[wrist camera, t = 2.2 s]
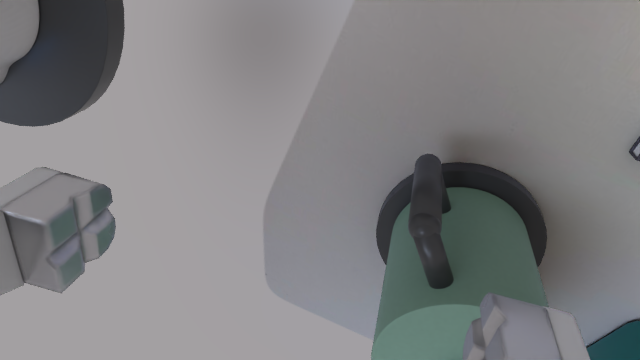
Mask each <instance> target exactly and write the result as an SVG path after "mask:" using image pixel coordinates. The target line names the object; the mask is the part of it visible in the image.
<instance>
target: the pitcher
mask: <svg viewBox="0 0 640 360" xmlns="http://www.w3.org/2000/svg"><path fill="white" fill-rule="evenodd" d="M586 349H587V352H588V354H589V357H590V360H640V321H634V322H630V323H627V324H626V325H624V326H622V327H621V328H619V329H617V330H616V331H614V332H612V333H611V334H609V335H607V336H606V337H604V338H603V339H601V340H599V341H598V342H596V343H594V344H593V345H591V346H589V347H588V348H586Z"/></svg>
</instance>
